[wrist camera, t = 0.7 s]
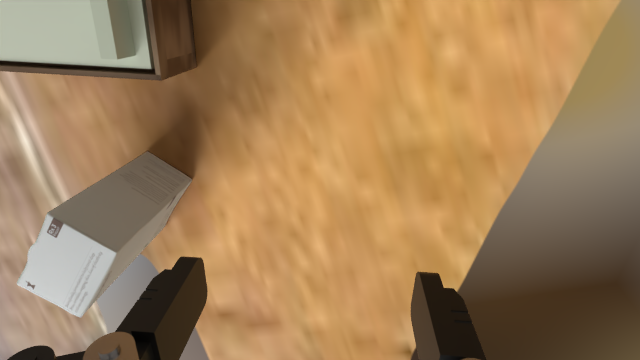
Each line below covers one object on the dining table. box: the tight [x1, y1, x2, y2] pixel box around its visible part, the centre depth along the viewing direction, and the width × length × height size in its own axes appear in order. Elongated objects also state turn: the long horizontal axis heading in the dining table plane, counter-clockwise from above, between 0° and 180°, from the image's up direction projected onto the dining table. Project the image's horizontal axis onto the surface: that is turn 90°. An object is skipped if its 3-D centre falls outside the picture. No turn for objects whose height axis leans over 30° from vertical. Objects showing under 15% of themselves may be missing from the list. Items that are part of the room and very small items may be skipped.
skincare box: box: [17, 151, 192, 317], centre depth 35 cm, size 8×6×15 cm
